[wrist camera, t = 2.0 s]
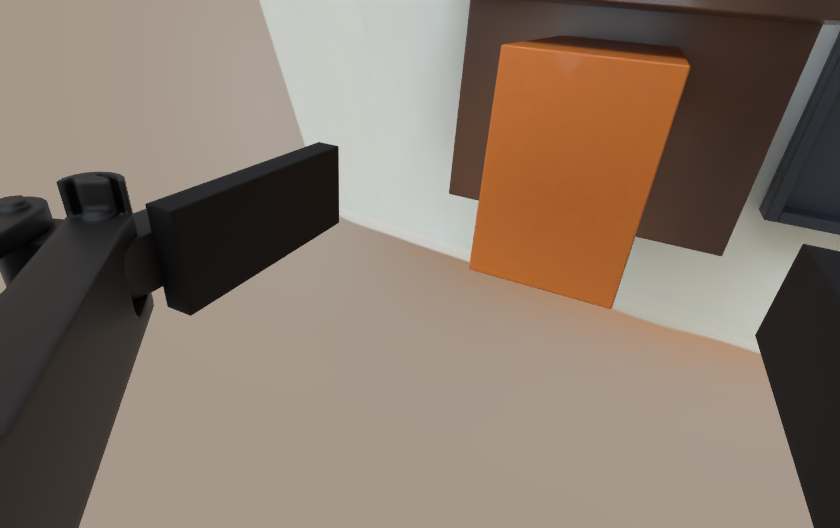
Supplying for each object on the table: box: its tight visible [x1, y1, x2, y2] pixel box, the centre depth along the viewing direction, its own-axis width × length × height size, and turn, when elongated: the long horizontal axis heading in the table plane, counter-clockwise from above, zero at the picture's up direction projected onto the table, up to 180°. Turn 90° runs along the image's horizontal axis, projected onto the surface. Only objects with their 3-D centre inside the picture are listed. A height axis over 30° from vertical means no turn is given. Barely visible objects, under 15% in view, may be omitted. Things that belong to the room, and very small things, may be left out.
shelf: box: [449, 0, 840, 256], centre depth 27 cm, size 17×13×20 cm
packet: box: [469, 35, 690, 309], centre depth 22 cm, size 6×9×12 cm, turn 176°
